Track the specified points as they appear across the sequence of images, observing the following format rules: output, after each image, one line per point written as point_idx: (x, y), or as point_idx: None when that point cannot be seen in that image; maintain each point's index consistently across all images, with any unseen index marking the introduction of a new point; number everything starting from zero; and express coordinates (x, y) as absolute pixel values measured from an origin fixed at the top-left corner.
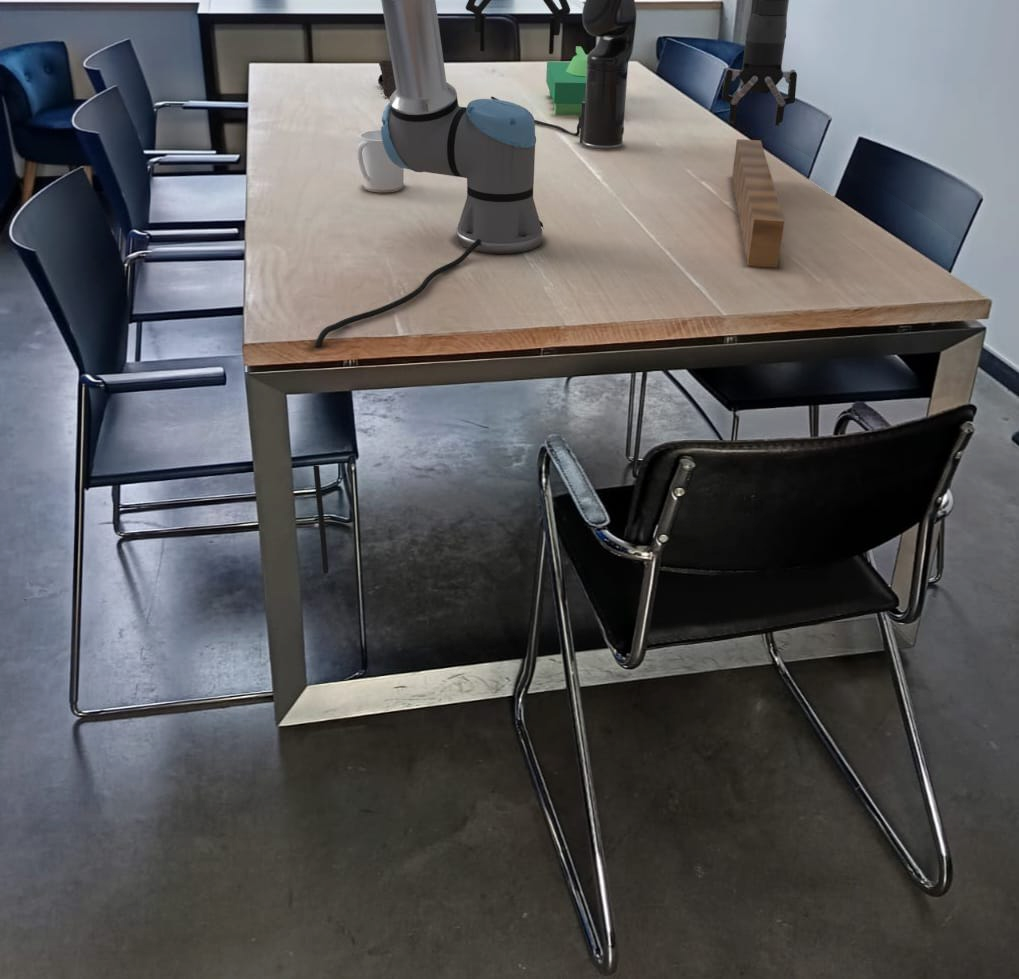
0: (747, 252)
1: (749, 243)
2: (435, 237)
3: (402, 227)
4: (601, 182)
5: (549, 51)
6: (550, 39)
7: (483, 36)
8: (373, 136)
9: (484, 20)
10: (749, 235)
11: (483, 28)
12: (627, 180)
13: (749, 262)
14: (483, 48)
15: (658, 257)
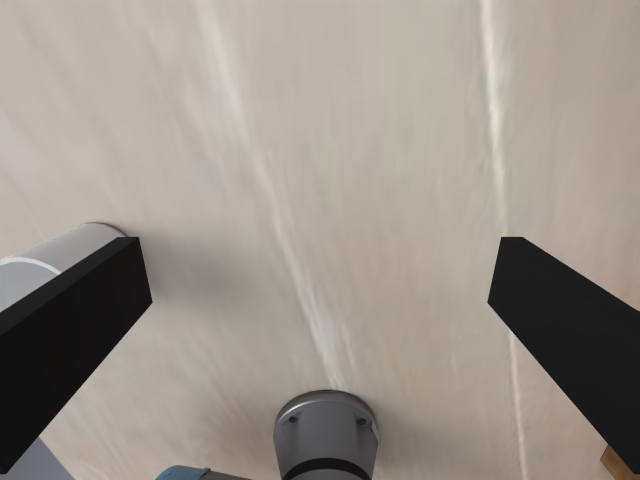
0: (614, 454)
1: (621, 473)
2: (249, 426)
3: (199, 403)
4: (494, 157)
5: (495, 308)
6: (533, 350)
7: (108, 351)
8: (7, 264)
9: (36, 425)
10: (631, 471)
11: (75, 386)
12: (552, 134)
13: (604, 464)
14: (143, 309)
15: (506, 449)
